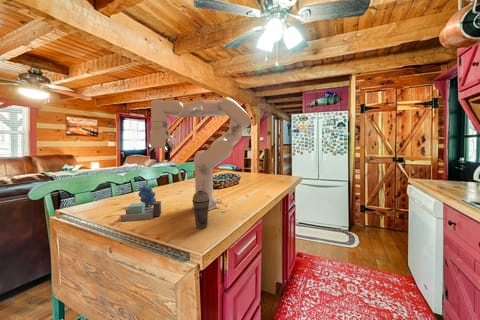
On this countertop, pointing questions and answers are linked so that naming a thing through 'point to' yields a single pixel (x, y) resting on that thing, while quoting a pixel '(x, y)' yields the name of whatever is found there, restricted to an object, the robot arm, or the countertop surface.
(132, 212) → the block
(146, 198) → the grapes
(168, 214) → the countertop surface
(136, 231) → the countertop surface
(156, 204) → the plunger
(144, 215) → the channel
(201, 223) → the beverage cup
